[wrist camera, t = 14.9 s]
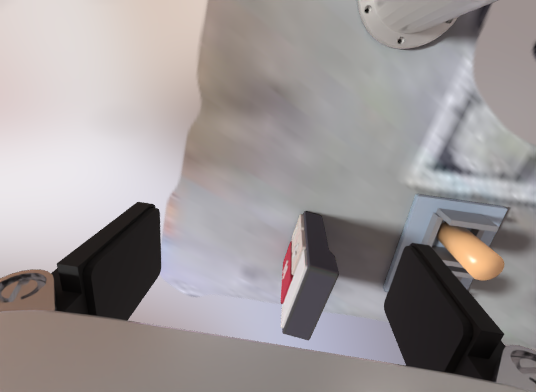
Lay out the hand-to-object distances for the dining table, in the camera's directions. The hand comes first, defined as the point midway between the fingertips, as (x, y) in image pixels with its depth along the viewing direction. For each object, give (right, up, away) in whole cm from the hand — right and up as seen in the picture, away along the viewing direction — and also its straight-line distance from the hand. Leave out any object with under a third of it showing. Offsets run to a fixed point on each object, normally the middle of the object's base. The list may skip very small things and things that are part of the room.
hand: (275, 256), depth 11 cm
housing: (+27, -7, +35) cm, 45 cm away
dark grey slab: (+5, -5, +37) cm, 37 cm away
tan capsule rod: (+28, -3, +33) cm, 43 cm away
